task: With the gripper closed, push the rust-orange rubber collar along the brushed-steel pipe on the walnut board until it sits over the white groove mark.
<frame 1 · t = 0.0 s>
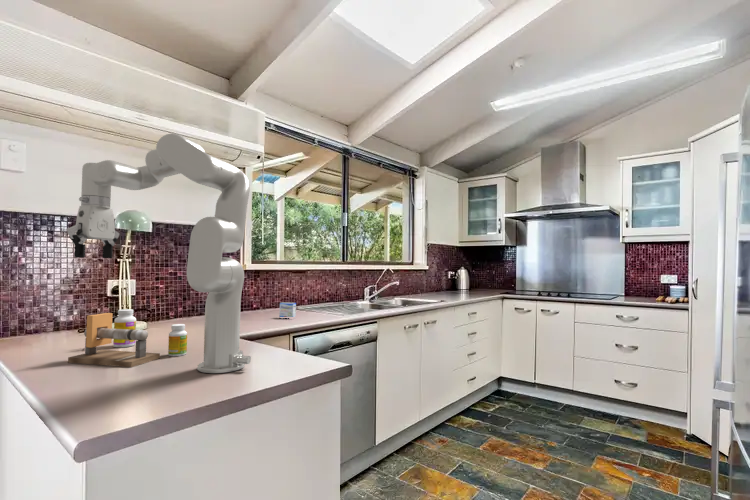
hand: (94, 257, 123), 31 cm above the counter, tool pointing down, fingers open, 9 cm apart
rubber collar: (99, 329, 122), point 9 cm above the counter, slide at 0.0 cm
medicine box: (287, 319, 215), on the counter
pipe stand: (115, 360, 120), on the counter
supplement bottle: (124, 346, 141), on the counter
supplement bottle 2: (177, 355, 128), on the counter
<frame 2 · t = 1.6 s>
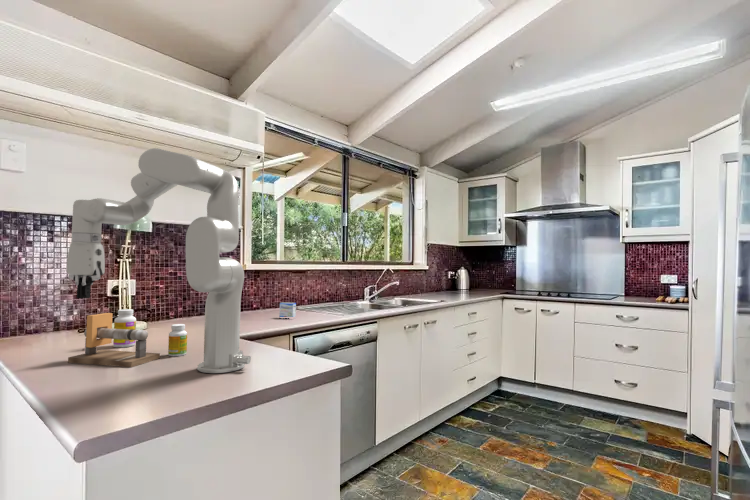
hand: (83, 298, 123), 19 cm above the counter, tool pointing down, fingers closed
nothing on the counter moved.
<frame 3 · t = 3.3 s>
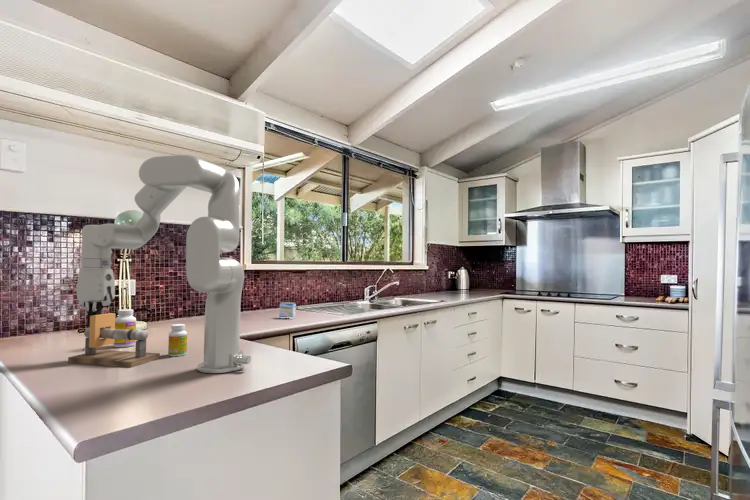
hand: (94, 323, 122), 11 cm above the counter, tool pointing down, fingers closed
rubber collar: (102, 329, 122), point 9 cm above the counter, slide at 1.1 cm, touching gripper
everything else where it was.
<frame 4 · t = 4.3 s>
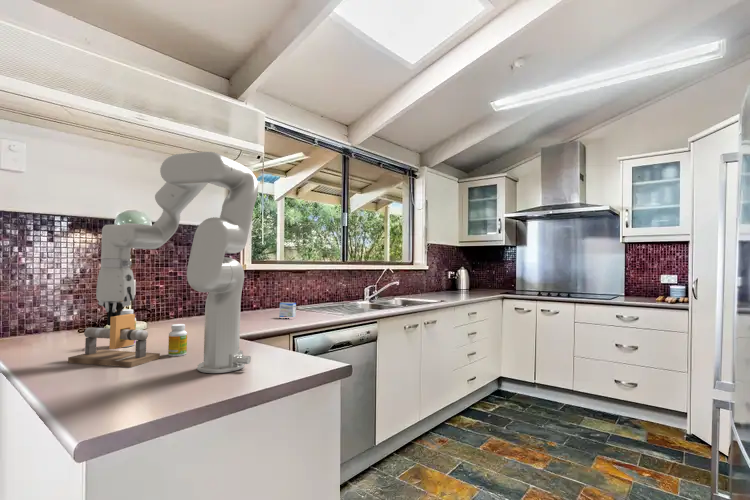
hand: (113, 324, 121), 11 cm above the counter, tool pointing down, fingers closed
rubber collar: (122, 330, 120), point 9 cm above the counter, slide at 8.4 cm, touching gripper
everything else where it was.
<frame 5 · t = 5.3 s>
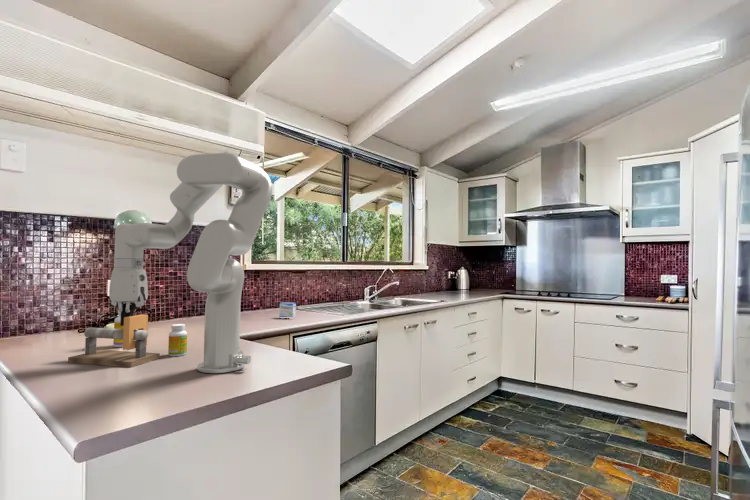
hand: (126, 325, 120), 11 cm above the counter, tool pointing down, fingers closed
rubber collar: (135, 331, 119), point 9 cm above the counter, slide at 13.0 cm, touching gripper
everything else where it was.
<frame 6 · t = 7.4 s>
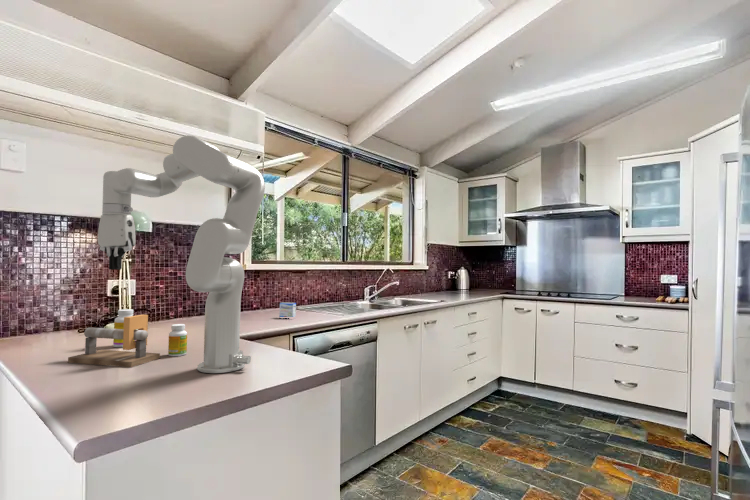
hand: (115, 269, 124), 28 cm above the counter, tool pointing down, fingers closed
rubber collar: (135, 331, 119), point 9 cm above the counter, slide at 13.0 cm
everything else where it was.
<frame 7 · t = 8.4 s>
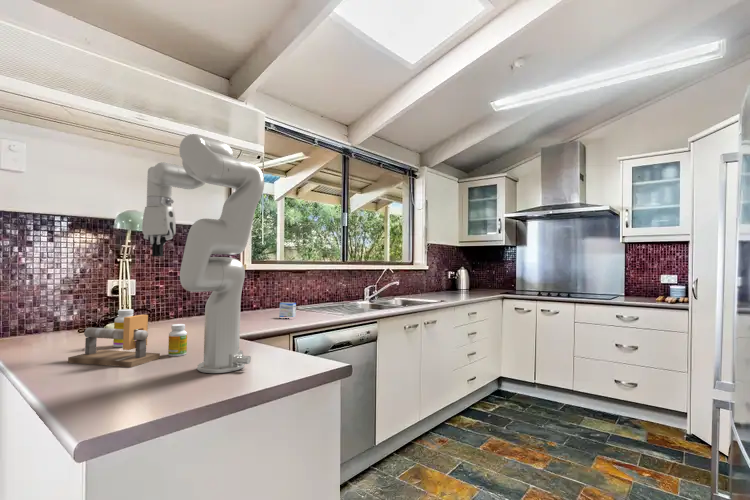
hand: (157, 256, 136), 32 cm above the counter, tool pointing down, fingers closed
nothing on the counter moved.
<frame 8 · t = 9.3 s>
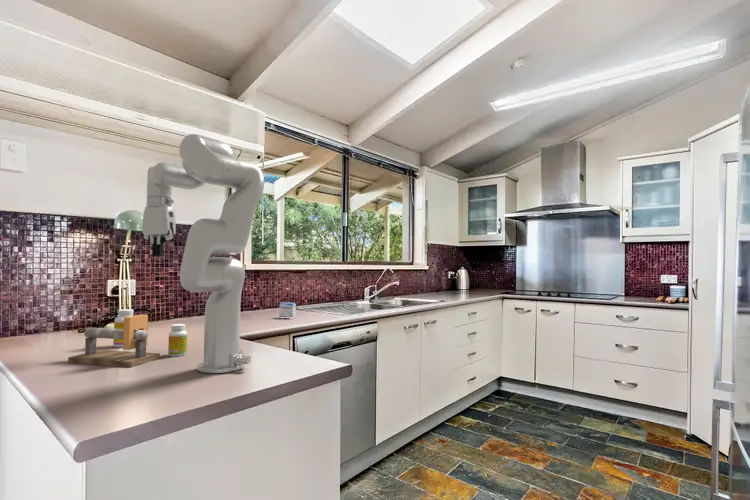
hand: (157, 256, 136), 32 cm above the counter, tool pointing down, fingers closed
nothing on the counter moved.
at the end: rubber collar slide at 13.0 cm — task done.
